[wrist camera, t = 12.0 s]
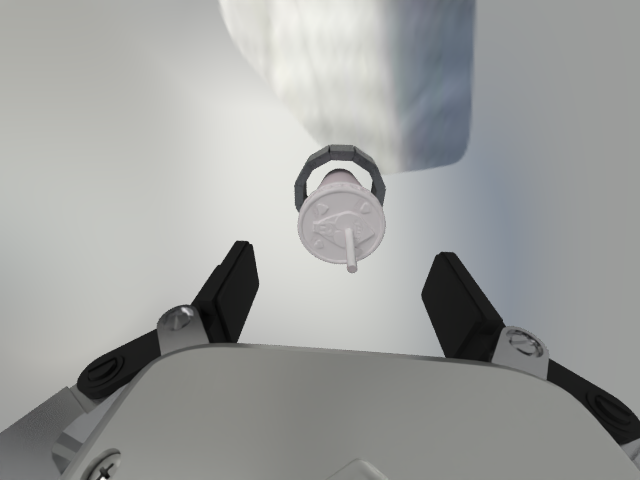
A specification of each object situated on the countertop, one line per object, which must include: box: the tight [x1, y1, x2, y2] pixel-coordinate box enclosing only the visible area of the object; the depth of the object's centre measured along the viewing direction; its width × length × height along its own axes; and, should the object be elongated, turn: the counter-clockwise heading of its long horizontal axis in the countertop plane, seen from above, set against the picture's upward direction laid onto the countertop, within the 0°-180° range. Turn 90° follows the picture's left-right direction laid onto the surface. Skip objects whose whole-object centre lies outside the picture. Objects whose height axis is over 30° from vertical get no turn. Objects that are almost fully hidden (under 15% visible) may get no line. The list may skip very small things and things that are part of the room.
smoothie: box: [298, 169, 386, 273], centre depth 19 cm, size 6×6×14 cm
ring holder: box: [294, 145, 386, 212], centre depth 23 cm, size 9×9×3 cm
